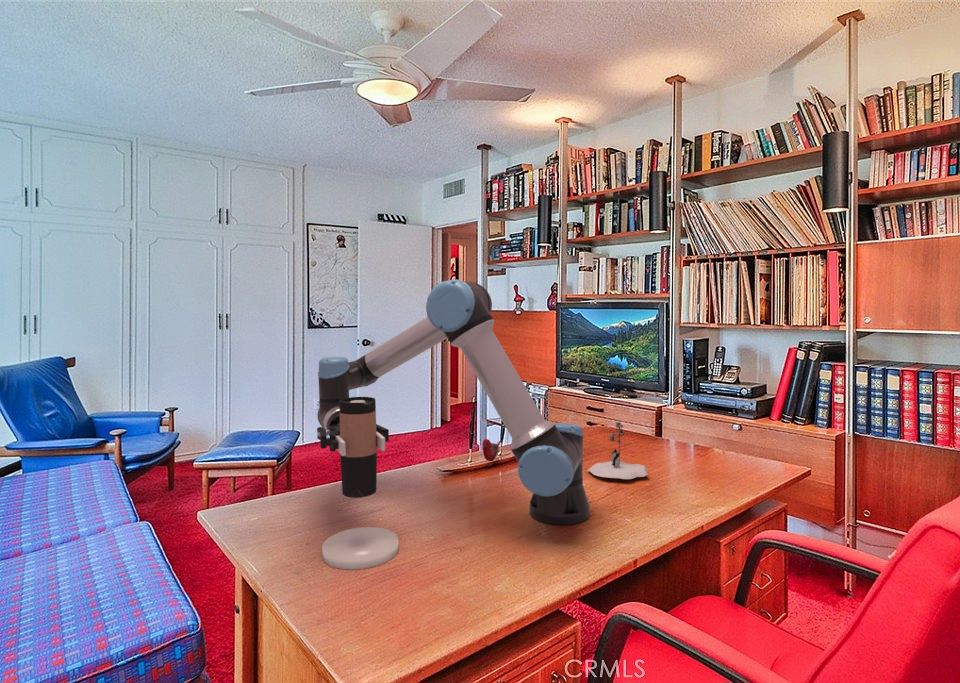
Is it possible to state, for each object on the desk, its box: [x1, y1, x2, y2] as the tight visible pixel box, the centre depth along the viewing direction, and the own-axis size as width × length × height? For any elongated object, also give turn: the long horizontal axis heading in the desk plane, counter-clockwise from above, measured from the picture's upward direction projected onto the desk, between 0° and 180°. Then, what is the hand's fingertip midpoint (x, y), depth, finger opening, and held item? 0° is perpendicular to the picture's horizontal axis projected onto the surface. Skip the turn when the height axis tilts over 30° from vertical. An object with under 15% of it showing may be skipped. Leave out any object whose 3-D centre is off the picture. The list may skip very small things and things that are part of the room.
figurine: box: [587, 421, 649, 480], centre depth 166 cm, size 20×18×16 cm
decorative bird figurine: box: [482, 438, 502, 467], centre depth 177 cm, size 3×18×10 cm, turn 158°
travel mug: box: [339, 396, 378, 499], centre depth 113 cm, size 8×8×20 cm
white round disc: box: [321, 526, 400, 571], centre depth 114 cm, size 16×16×2 cm
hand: (363, 446), depth 108 cm, fingers closed on travel mug, 7 cm apart
